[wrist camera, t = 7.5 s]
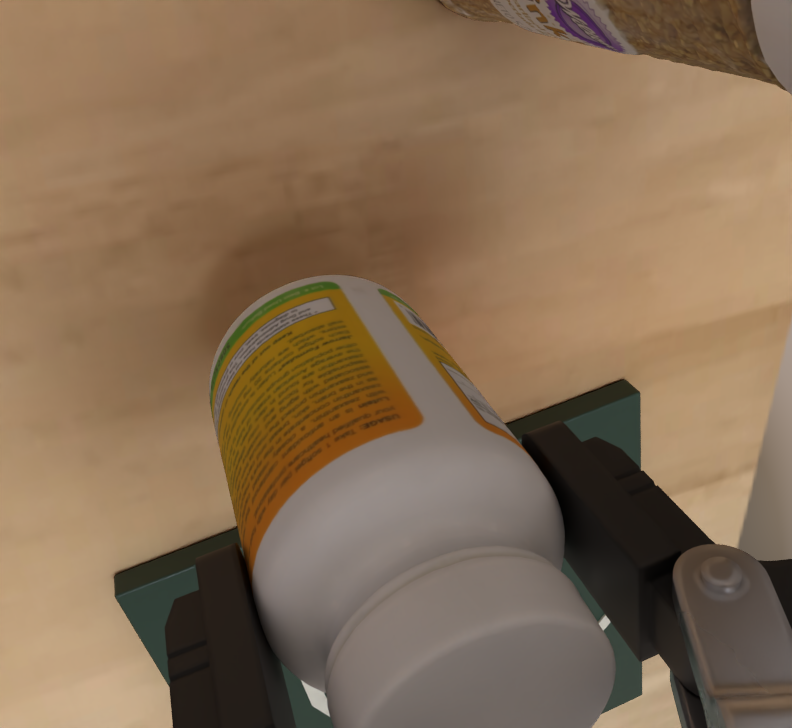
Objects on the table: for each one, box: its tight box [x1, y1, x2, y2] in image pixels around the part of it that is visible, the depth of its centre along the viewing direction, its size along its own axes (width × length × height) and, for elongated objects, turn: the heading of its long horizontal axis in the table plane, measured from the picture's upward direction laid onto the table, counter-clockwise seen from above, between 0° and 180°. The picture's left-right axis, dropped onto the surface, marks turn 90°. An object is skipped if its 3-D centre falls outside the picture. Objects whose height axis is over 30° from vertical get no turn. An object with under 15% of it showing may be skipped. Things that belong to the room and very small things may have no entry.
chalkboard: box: [114, 380, 642, 728], centre depth 31 cm, size 19×19×1 cm
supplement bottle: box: [209, 275, 616, 728], centre depth 14 cm, size 5×5×10 cm
